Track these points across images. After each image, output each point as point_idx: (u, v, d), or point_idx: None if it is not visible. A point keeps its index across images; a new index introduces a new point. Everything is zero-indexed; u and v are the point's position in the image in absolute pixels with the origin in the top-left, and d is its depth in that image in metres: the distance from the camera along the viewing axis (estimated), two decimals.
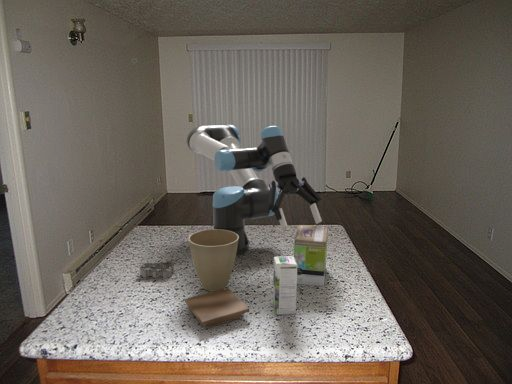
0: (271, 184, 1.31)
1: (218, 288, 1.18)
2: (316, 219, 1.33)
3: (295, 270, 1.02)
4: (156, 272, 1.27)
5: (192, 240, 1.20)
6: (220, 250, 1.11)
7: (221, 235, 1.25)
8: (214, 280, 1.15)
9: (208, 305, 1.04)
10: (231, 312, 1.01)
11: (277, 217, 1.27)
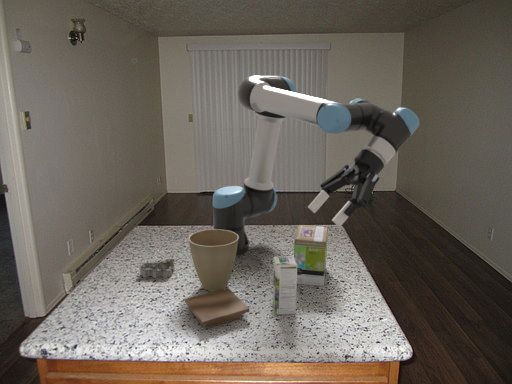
0: (376, 179, 1.00)
1: (218, 288, 1.18)
2: (313, 206, 1.11)
3: (295, 270, 1.02)
4: (156, 272, 1.27)
5: (192, 240, 1.20)
6: (220, 250, 1.11)
7: (221, 235, 1.25)
8: (214, 280, 1.15)
9: (208, 305, 1.04)
10: (231, 312, 1.01)
11: (349, 213, 0.98)
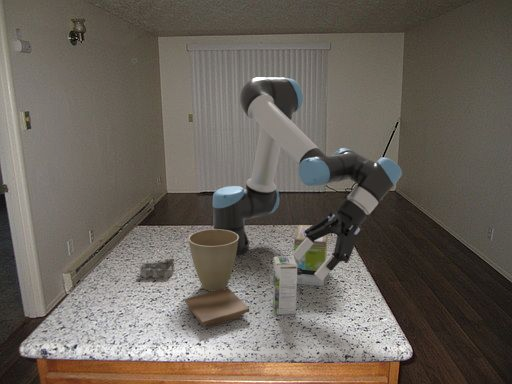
0: (358, 232, 1.01)
1: (218, 288, 1.18)
2: (298, 254, 1.12)
3: (295, 270, 1.02)
4: (157, 272, 1.27)
5: (192, 240, 1.20)
6: (220, 250, 1.11)
7: (221, 235, 1.25)
8: (214, 280, 1.15)
9: (208, 305, 1.04)
10: (231, 312, 1.01)
11: (331, 267, 0.98)
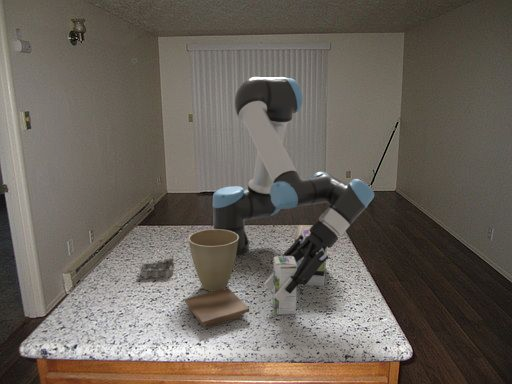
0: (324, 258, 1.00)
1: (218, 288, 1.18)
2: (270, 283, 1.08)
3: (295, 270, 1.02)
4: (158, 271, 1.27)
5: (192, 240, 1.20)
6: (220, 250, 1.11)
7: (221, 235, 1.25)
8: (214, 280, 1.15)
9: (208, 305, 1.04)
10: (231, 312, 1.01)
11: (290, 290, 1.01)
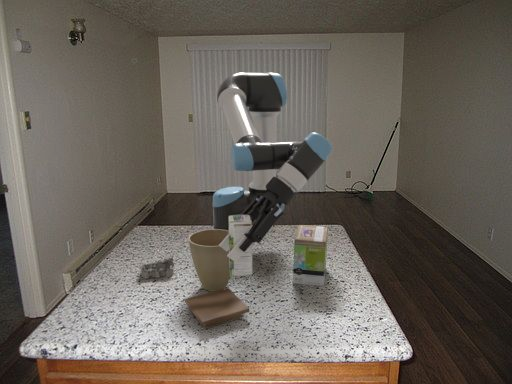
0: (279, 214, 0.95)
1: (218, 288, 1.18)
2: (225, 245, 1.03)
3: (249, 228, 0.97)
4: (159, 271, 1.28)
5: (192, 240, 1.20)
6: (220, 250, 1.11)
7: (221, 235, 1.25)
8: (214, 280, 1.15)
9: (208, 305, 1.04)
10: (231, 312, 1.01)
11: (244, 249, 0.96)
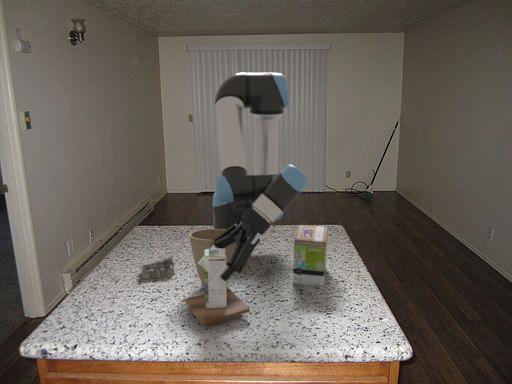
0: (256, 241, 0.97)
1: None
2: None
3: (224, 262, 1.00)
4: (160, 271, 1.28)
5: None
6: None
7: None
8: None
9: None
10: (231, 312, 1.01)
11: (225, 278, 0.95)
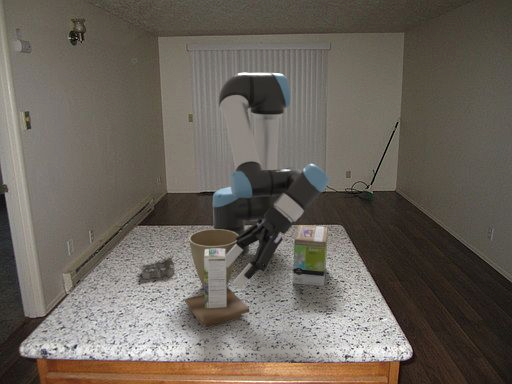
0: (279, 240, 0.99)
1: None
2: (226, 261, 1.10)
3: (224, 262, 1.00)
4: (160, 271, 1.28)
5: (192, 240, 1.20)
6: None
7: (221, 235, 1.25)
8: None
9: None
10: (231, 312, 1.01)
11: (249, 276, 0.97)
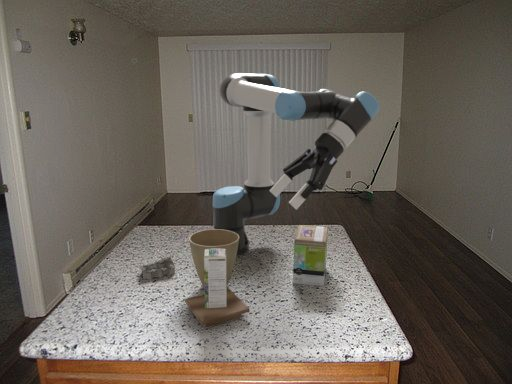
0: (333, 162, 1.00)
1: None
2: (275, 190, 1.11)
3: (224, 262, 1.00)
4: (161, 271, 1.28)
5: (192, 240, 1.20)
6: None
7: (221, 235, 1.25)
8: None
9: None
10: (231, 312, 1.01)
11: (305, 195, 0.98)
